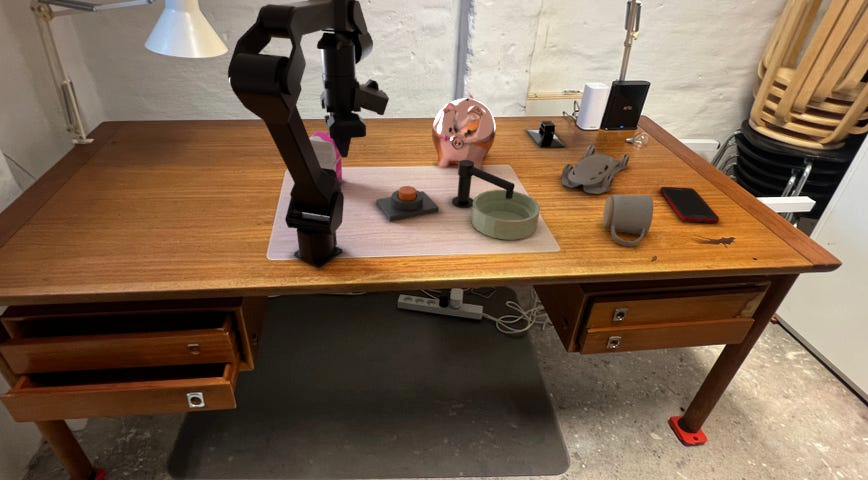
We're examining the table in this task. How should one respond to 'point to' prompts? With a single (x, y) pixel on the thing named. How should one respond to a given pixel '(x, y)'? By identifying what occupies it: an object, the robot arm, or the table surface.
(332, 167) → the supplement box
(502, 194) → the basin
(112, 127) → the table surface
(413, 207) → the button panel
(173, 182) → the table surface
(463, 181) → the black faucet base
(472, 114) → the piggy bank
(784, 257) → the table surface
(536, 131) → the build plate
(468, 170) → the spout
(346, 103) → the robot arm
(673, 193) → the cell phone
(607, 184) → the grey flat lobed piece
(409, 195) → the orange button
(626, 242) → the ceramic mug
